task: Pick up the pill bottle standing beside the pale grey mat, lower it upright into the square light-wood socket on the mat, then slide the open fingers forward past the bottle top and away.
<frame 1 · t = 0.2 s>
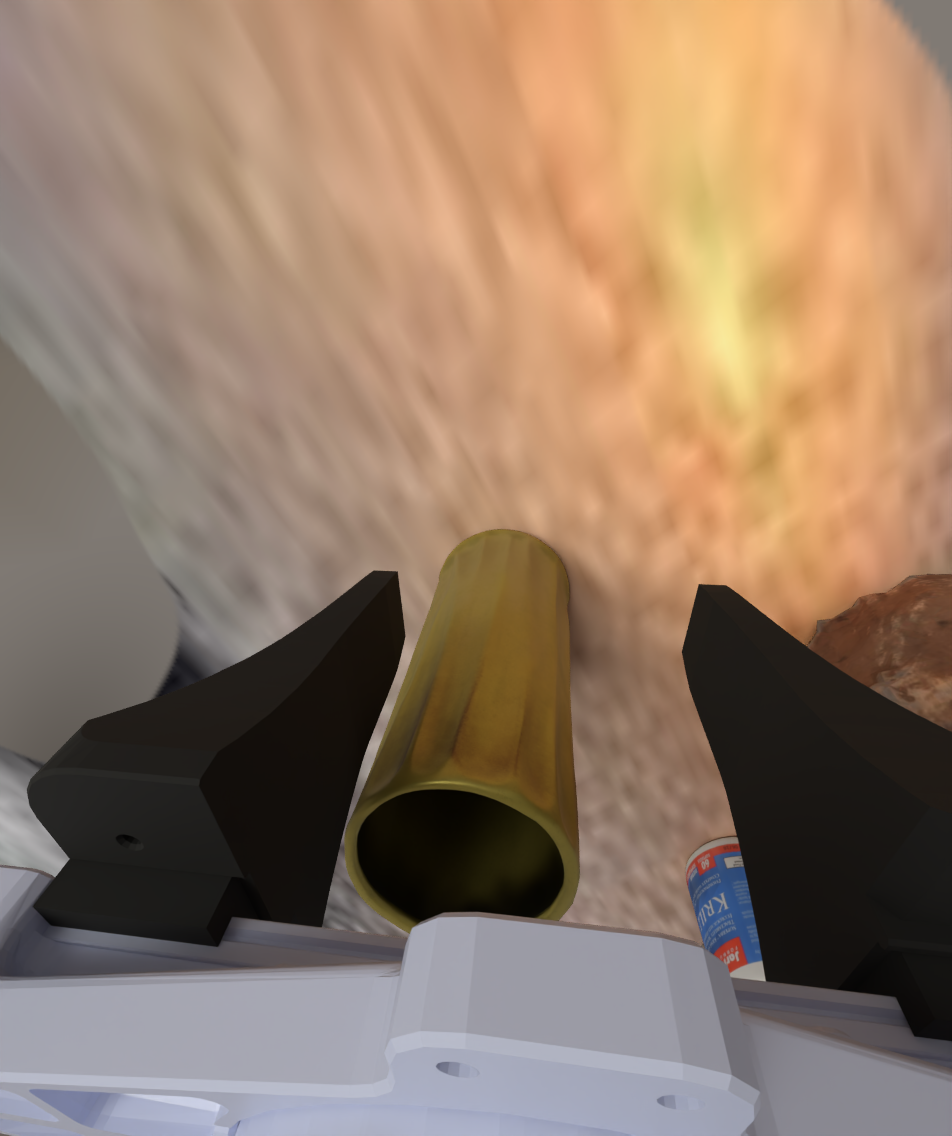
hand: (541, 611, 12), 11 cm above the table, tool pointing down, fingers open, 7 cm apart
decorative rock: (895, 661, 23), on the table
vase: (503, 587, 24), on the table
pill bottle: (730, 864, 29), on the table
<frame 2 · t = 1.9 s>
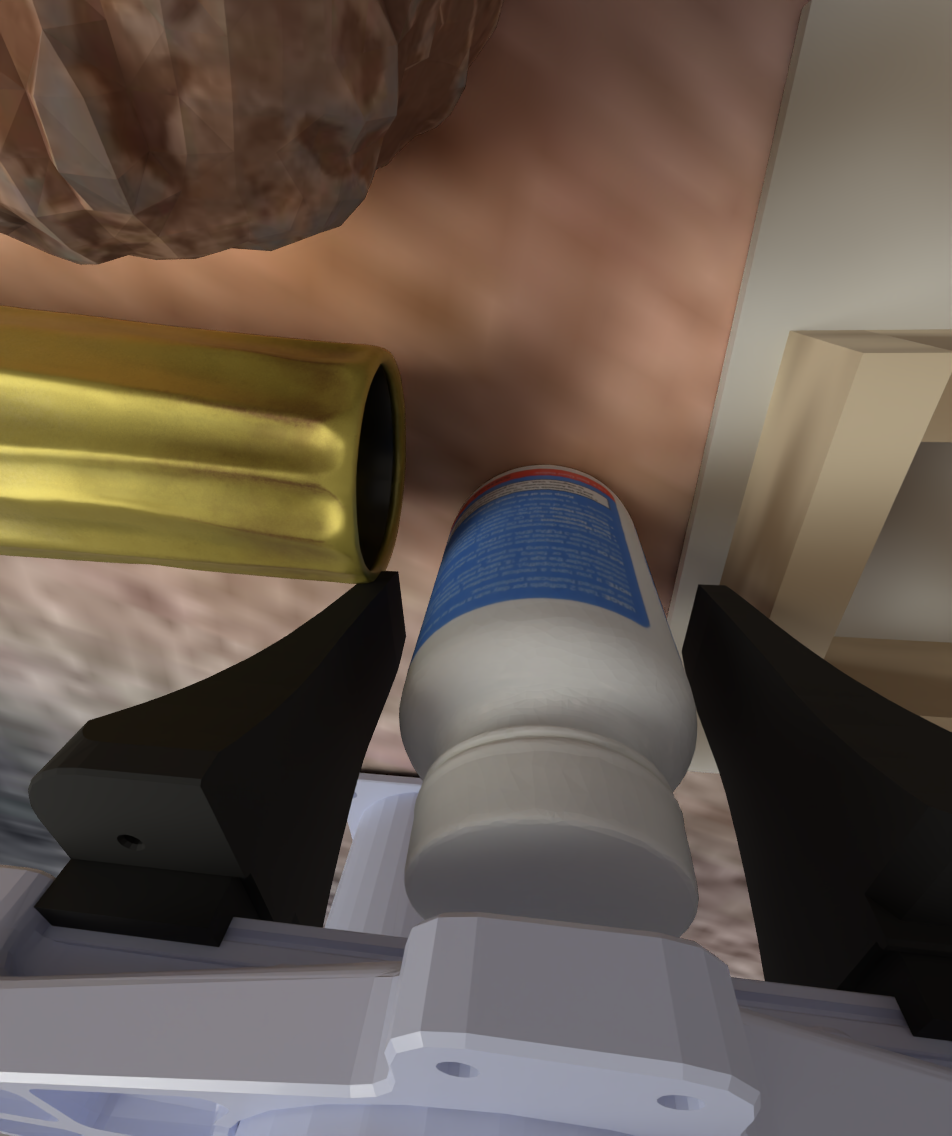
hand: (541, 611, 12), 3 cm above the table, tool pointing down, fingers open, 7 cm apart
socket block: (922, 529, 13), on the table
pill bottle: (541, 544, 15), on the table
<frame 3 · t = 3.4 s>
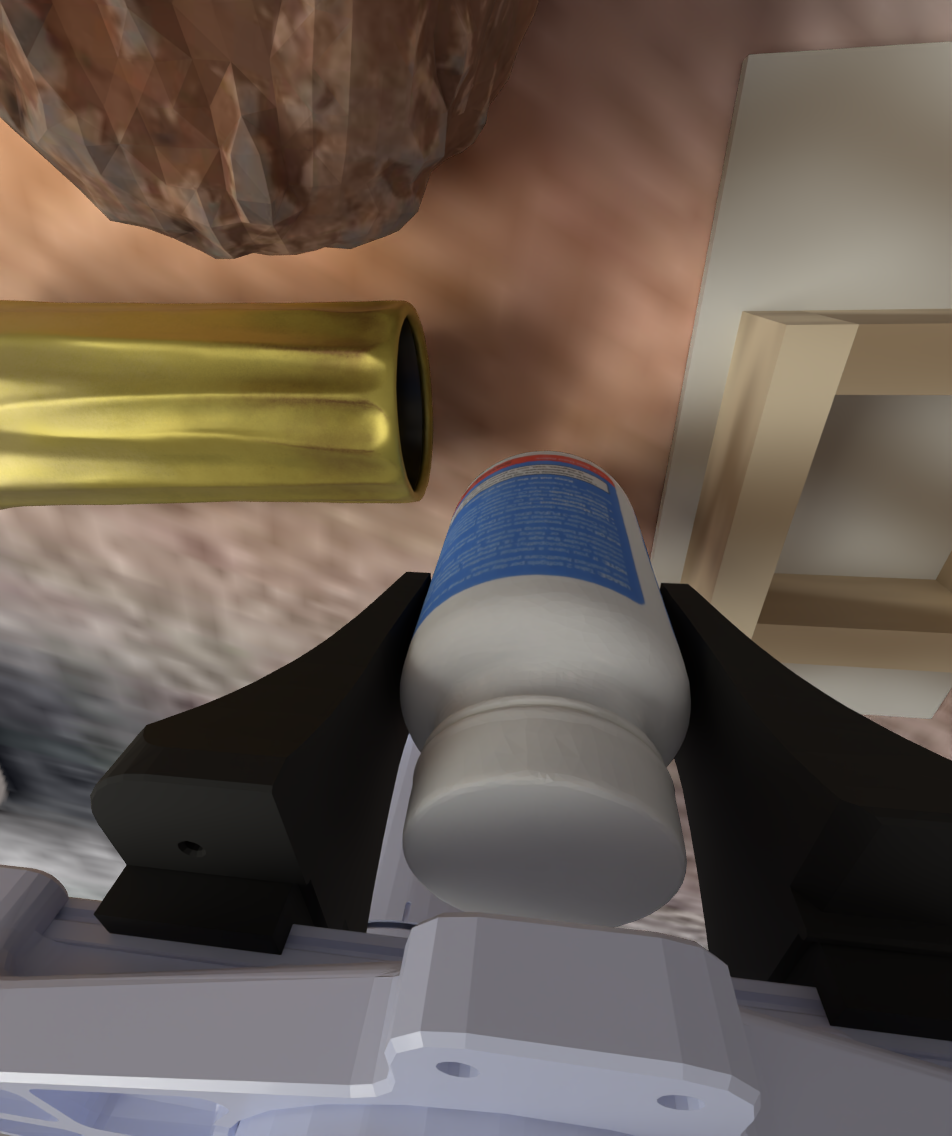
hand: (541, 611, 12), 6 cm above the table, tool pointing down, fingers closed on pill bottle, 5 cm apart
socket block: (860, 479, 16), on the table
pill bottle: (543, 531, 15), point 3 cm above the table, touching gripper
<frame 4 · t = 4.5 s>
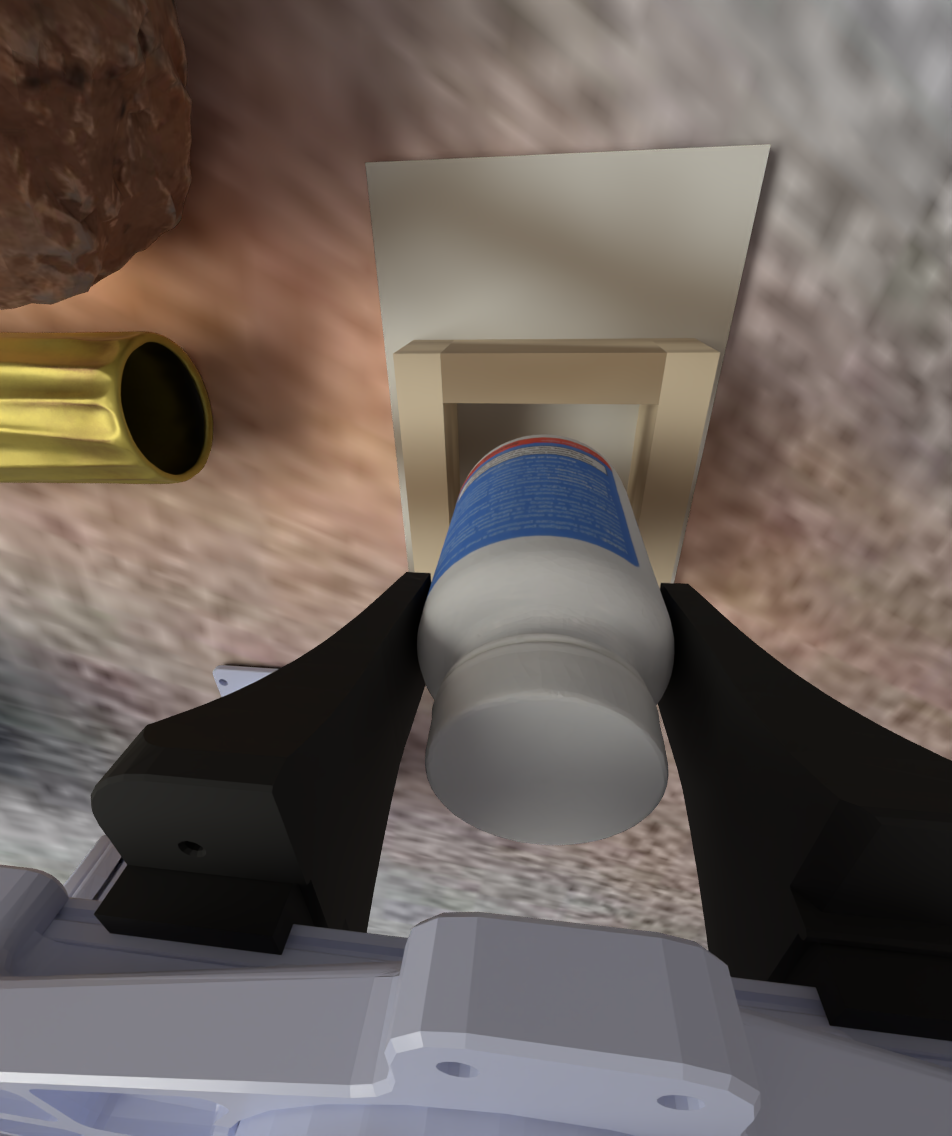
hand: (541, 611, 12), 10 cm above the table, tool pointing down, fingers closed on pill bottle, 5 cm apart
socket block: (543, 467, 21), on the table
decorative rock: (77, 55, 16), on the table
pill bottle: (541, 510, 17), point 5 cm above the table, touching gripper
when the fingers open (4 cm above the table, at t = 6.4 s): pill bottle stays where it is, resting on socket block.
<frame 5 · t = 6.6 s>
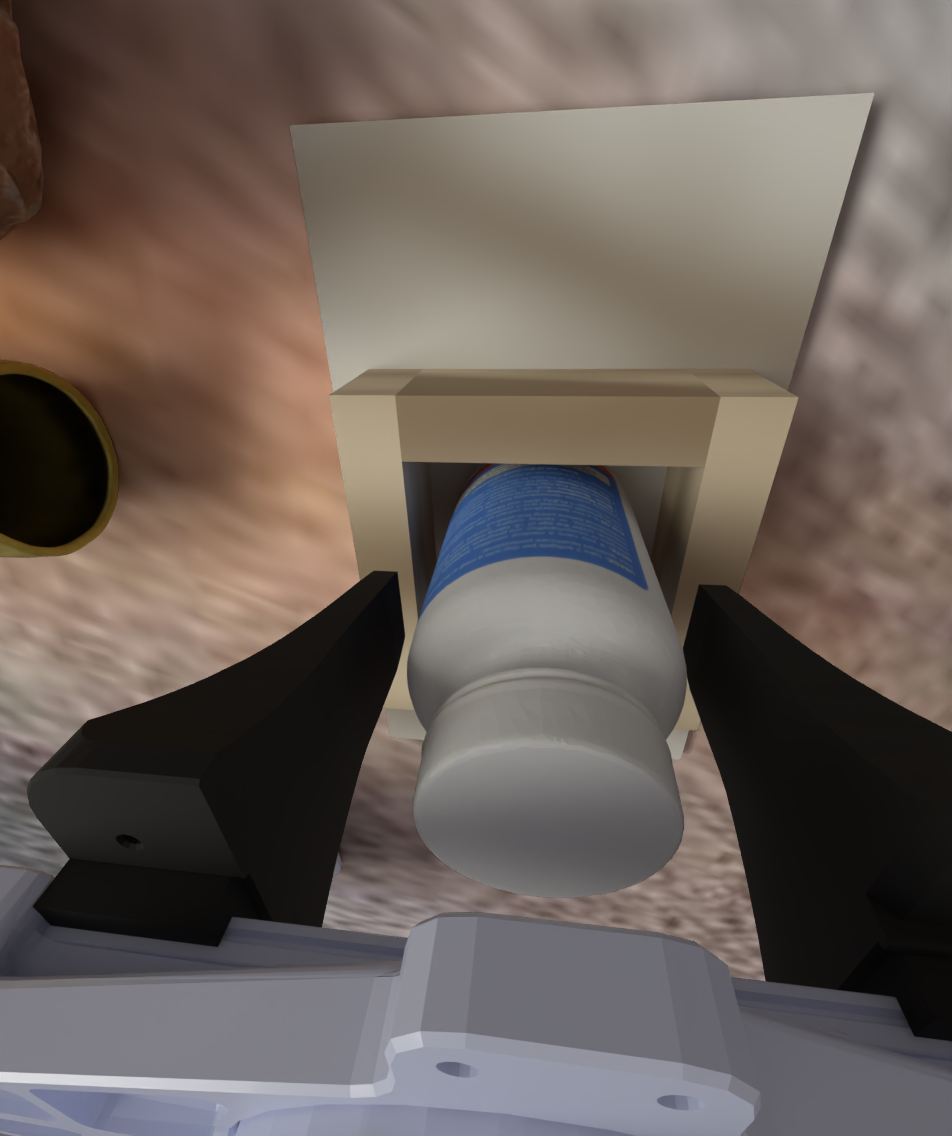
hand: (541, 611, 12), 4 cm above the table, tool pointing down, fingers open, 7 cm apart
socket block: (541, 529, 16), on the table
pill bottle: (541, 522, 16), resting on socket block
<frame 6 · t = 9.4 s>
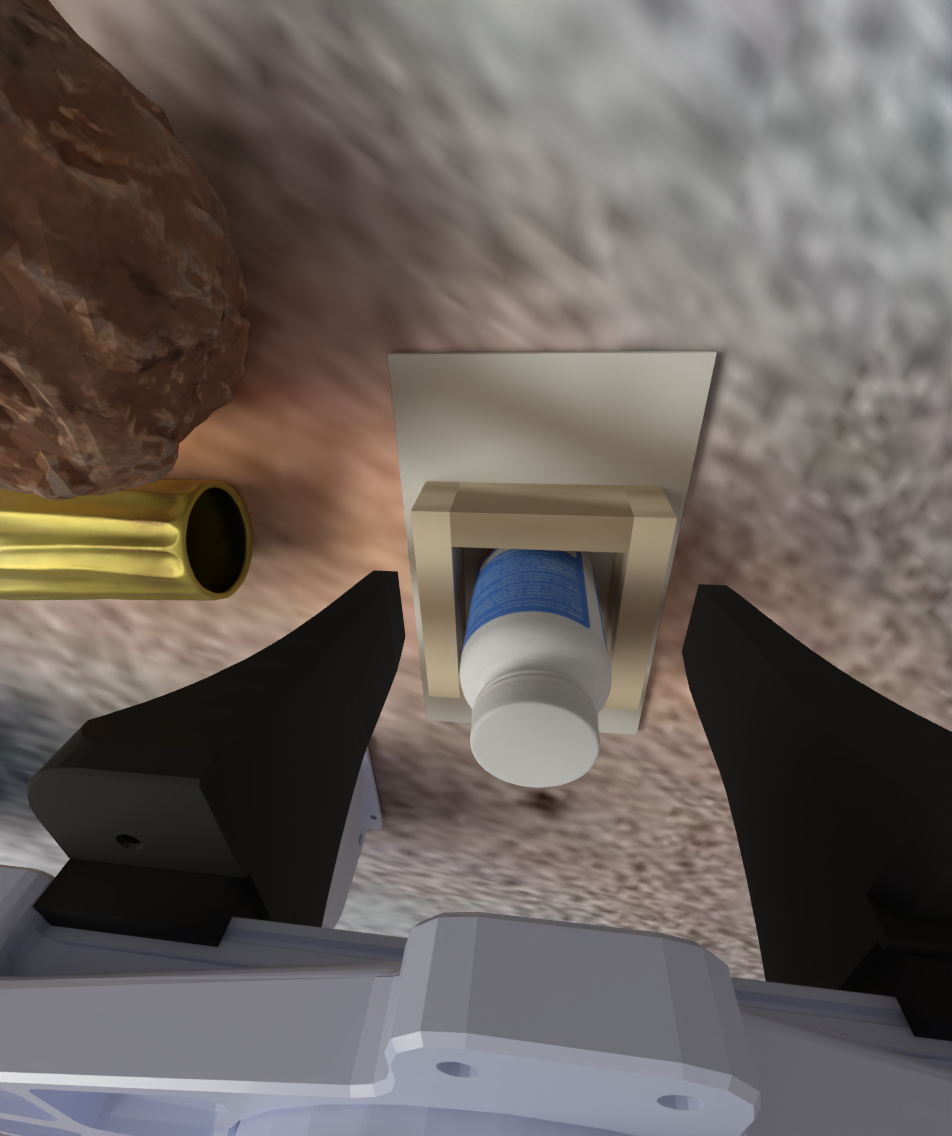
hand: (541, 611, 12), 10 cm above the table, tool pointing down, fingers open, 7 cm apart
socket block: (536, 576, 24), on the table
decorative rock: (151, 268, 19), on the table
pill bottle: (535, 573, 24), resting on socket block
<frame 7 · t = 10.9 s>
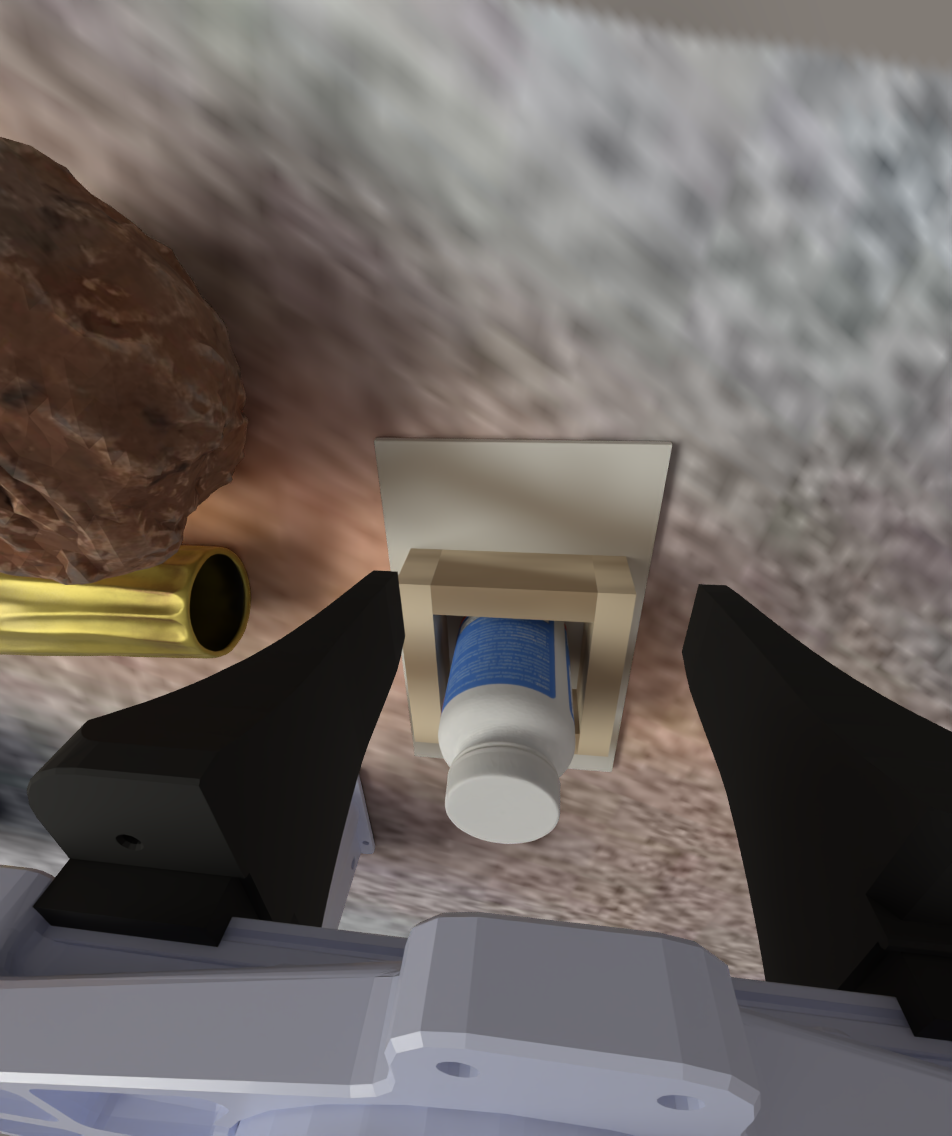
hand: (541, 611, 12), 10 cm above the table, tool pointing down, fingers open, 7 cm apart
socket block: (514, 631, 26), on the table
decorative rock: (158, 361, 21), on the table
pill bottle: (513, 628, 26), resting on socket block
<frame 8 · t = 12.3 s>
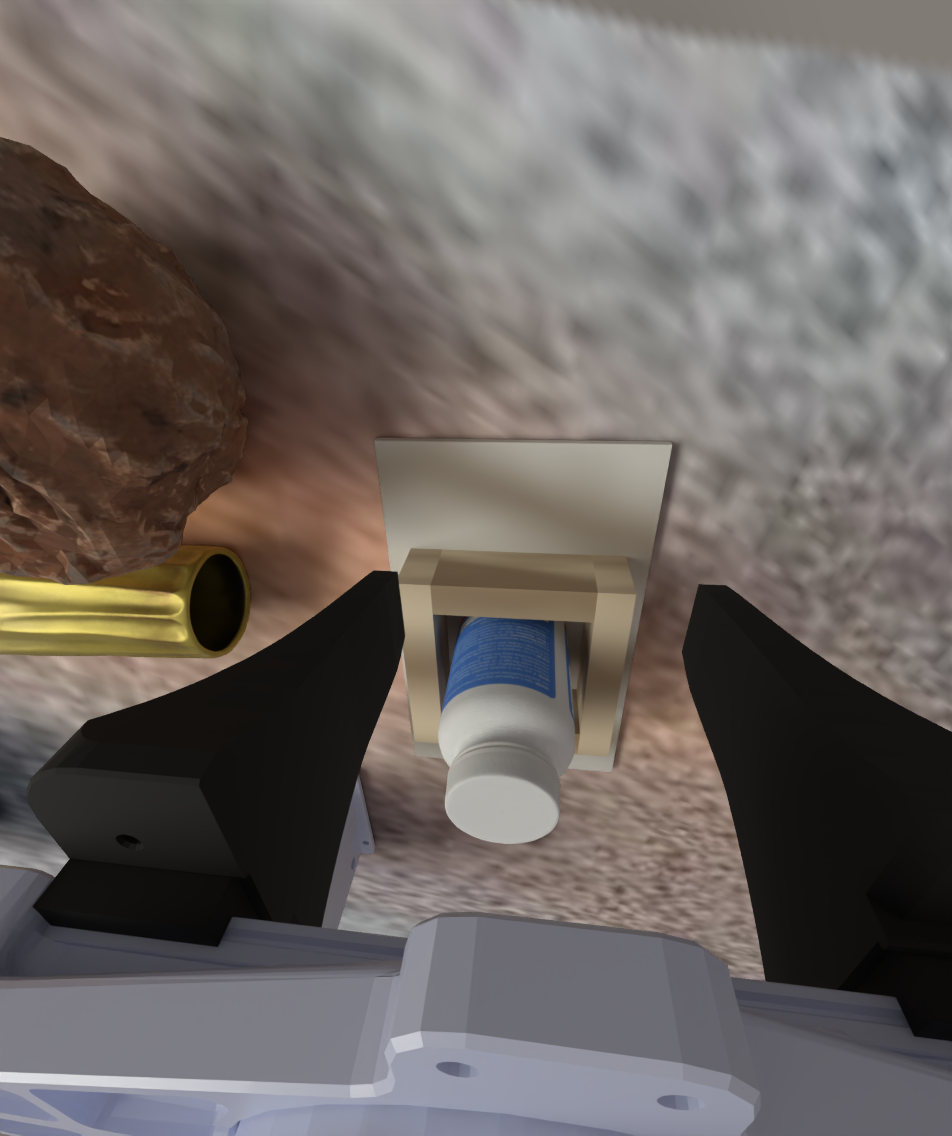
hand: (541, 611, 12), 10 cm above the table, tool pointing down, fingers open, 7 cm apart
socket block: (514, 631, 26), on the table
decorative rock: (158, 361, 21), on the table
pill bottle: (513, 628, 26), resting on socket block
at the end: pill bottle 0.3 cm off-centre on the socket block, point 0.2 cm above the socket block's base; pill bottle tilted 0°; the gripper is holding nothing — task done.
